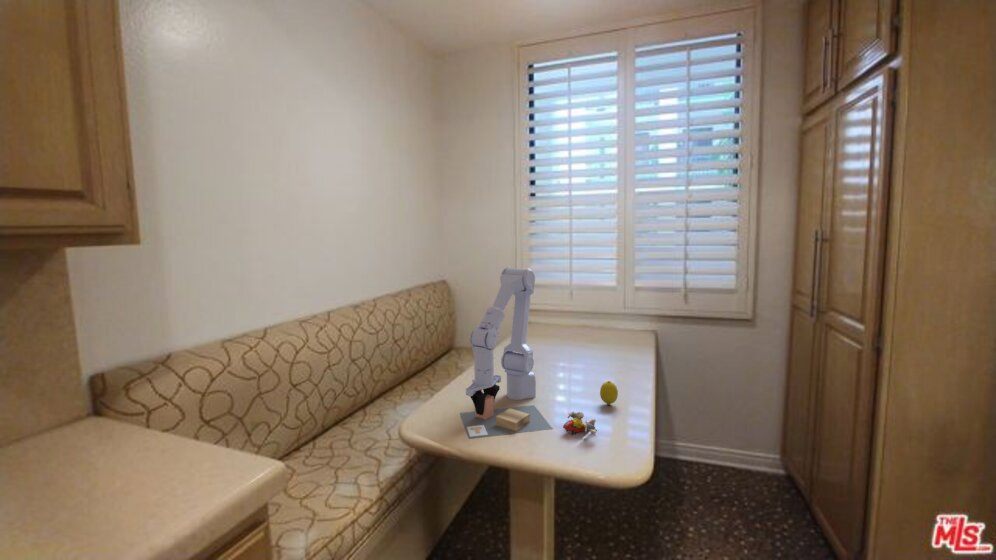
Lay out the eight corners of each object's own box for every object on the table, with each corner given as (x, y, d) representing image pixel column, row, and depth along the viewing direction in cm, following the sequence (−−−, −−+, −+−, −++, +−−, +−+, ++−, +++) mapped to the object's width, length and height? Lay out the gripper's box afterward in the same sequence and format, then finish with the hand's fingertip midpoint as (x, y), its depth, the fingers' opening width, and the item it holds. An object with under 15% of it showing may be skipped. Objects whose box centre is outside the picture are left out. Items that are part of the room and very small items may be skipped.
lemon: (617, 402, 144) (618, 379, 143) (616, 409, 138) (617, 385, 138) (600, 400, 145) (601, 377, 144) (598, 407, 140) (599, 383, 139)
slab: (510, 416, 132) (510, 408, 132) (529, 422, 128) (529, 414, 128) (496, 424, 127) (496, 416, 126) (516, 431, 123) (516, 422, 122)
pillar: (483, 411, 135) (483, 393, 135) (493, 415, 133) (493, 396, 132) (475, 416, 132) (475, 397, 131) (485, 419, 130) (485, 400, 129)
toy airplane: (561, 437, 121) (562, 415, 120) (569, 423, 129) (570, 403, 128) (595, 443, 117) (595, 420, 116) (601, 429, 125) (601, 407, 125)
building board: (534, 407, 140) (534, 404, 140) (552, 431, 124) (552, 428, 124) (459, 415, 135) (459, 412, 135) (468, 441, 119) (468, 438, 118)
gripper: (488, 359, 139) (488, 400, 141) (457, 371, 127) (458, 416, 129) (506, 363, 135) (506, 405, 136) (476, 376, 123) (477, 422, 125)
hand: (484, 411), depth 132 cm, fingers closed on pillar, 4 cm apart
